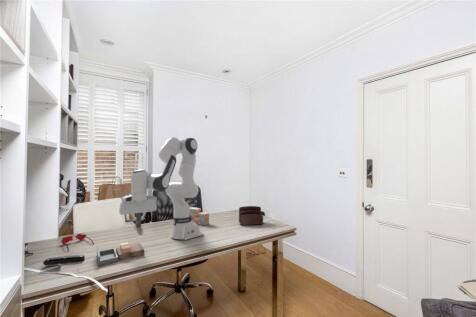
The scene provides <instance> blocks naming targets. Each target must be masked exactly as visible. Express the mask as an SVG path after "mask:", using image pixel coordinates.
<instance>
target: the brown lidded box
mask: <svg viewBox="0 0 476 317" xmlns="http://www.w3.org/2000/svg"><path fill="white" fill-rule="evenodd" d="M238 223H239V225H240V226H248V225H249V226H250V225H252V226H253V225H264V216H263V212H262V208H261V206H257V205H247V206H245V205H244V206H239V208H238Z"/></svg>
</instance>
